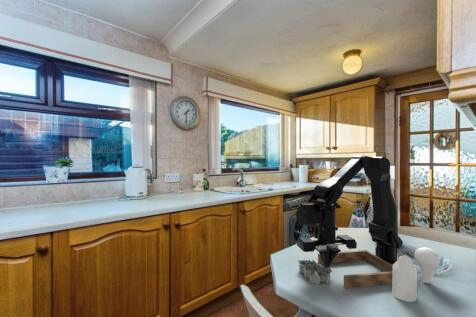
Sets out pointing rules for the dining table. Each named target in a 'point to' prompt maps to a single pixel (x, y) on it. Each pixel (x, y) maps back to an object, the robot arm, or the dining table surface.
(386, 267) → the open wooden frame
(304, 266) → the egg carton
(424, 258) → the lightbulb
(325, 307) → the dining table surface
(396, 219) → the beer bottle
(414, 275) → the roll
